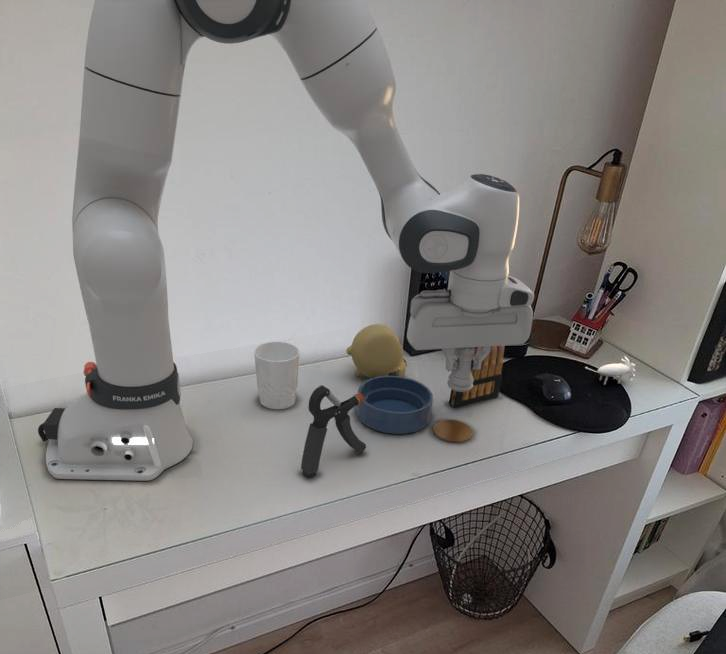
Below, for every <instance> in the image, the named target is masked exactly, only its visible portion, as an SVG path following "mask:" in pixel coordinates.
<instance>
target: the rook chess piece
mask: <svg viewBox="0 0 726 654" xmlns="http://www.w3.org/2000/svg"><path fill="white" fill-rule="evenodd" d="M455 349H456V351H457V354H455V356H456V357H455V358H456V360H457V361H458V366H457V371H451V372H450V374H449V375H448V377H447V378H448V379H447V382H446V384H447V386H448V388H450V390H451V389H452V390H454V391H458V392H466V391H469V390H470V389H471V388H472V387H473V382H474V379H473V376H472V373H471V361H472V359H473V356H472V354H473V353H474V354H475V353H476V351H477V347H468V348H455Z"/></svg>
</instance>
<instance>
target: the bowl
mask: <svg viewBox="0 0 726 654" xmlns="http://www.w3.org/2000/svg"><path fill="white" fill-rule="evenodd" d="M357 393H361V394H362V395H363V397H364V402H363V403H362V404H360V405H357V406H356V416H357V418H358V420H359V421H360V422H361V423H362V424H363V425H364V426H366V427H368V428H370V429H372V430H373V431H377V432H380V433H385V434H392V435H393V434H395V435H402V434H412V433H415V432H418V431H421V430H422V429H424V428H425V427H427V426H428V424H429V422H430V421H431V415H432V410H433V409H432V408H433V403H434V398H433V397H434V396H433V393H432V391H431V389H430V388H429V387H428V386H426V385H425V384H424V383H422V382H420V381H418V380H416V379H413V378H410V377H405V376H379V377H375V378H369V379H366V380H365V381H363V382H362V383H361V384H360V385H359V386H358V389H357Z"/></svg>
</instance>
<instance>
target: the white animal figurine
mask: <svg viewBox="0 0 726 654" xmlns="http://www.w3.org/2000/svg"><path fill="white" fill-rule="evenodd" d="M620 360H621V362H622V363H621V362H619V363H609V364H608V363H607V364H604V365H602V366H599V368H598V369H597V370H594V369H592V368H589V367H588V366H585V367H584V368H585V370H588V371H591V372H594V373H597V374H598V375H600V377H599V379H598V380H599V381H602V380H603V376H604V377H605V378H604V381H603V386H604V385H605V386H606V385H607V381H608V380H609V379H608V378H609V377H611V378H613V379H612V380H616V379H617V378H616V377H618V380H617V384H621V380H622V379H623V378H622V377H623V376H624V375H627V374H628V375H629V380H630V381H633V380H634V379H633V377H635V376H636V375H635V372H637V370H636V369H635V368H636V367H637V366H638V364H636V363H632V362H630V359H629V358H628V357H627V355H624V356H623V357H621V359H620Z"/></svg>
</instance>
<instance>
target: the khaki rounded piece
mask: <svg viewBox="0 0 726 654" xmlns="http://www.w3.org/2000/svg"><path fill="white" fill-rule="evenodd" d="M403 352H404V351H403V348H402V344H401V342H400V340H399V338H398V337H397V335H396V333H395V332H394V331H393V330H392V328H391V327H389V326H388V325H385V324H381V323H376V324H375V323H374V324H371V325H367V326H365V327H363V328H362V329H361V330H359V331H358V332H357V333H356V335H355V336H354V338H353V340H352V343H351V345H350V346H348V347H347V348H346V354H347V355H348V356H351V359H352V362H353V364H354V366H355V368H356V370H355V375H356V376H357V377H362V376H364V377H366V378H369V379H371V378H375V377H379V376H402V377H404V376H405V373H406V367H407V366H408V363H407V361H406V359H405V358H404V353H403Z"/></svg>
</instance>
